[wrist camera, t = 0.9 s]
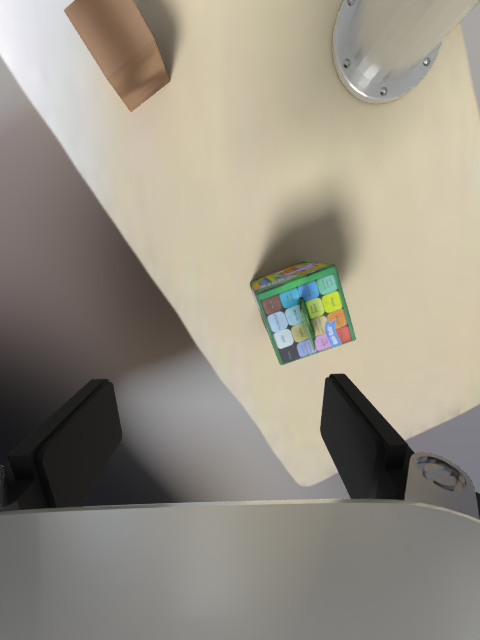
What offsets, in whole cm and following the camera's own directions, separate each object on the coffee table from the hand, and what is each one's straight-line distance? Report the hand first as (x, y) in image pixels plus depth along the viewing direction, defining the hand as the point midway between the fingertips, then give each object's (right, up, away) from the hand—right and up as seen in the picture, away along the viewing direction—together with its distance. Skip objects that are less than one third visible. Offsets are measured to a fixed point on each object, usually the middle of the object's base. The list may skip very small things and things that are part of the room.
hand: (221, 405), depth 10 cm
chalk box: (+8, +7, +26) cm, 28 cm away
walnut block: (-12, +34, +18) cm, 40 cm away
